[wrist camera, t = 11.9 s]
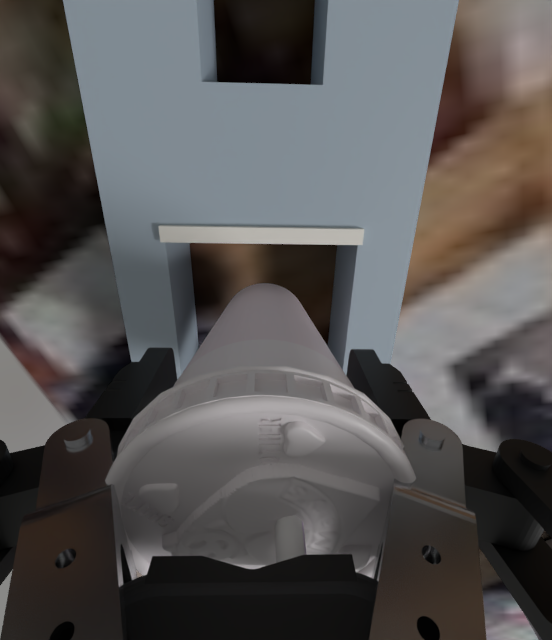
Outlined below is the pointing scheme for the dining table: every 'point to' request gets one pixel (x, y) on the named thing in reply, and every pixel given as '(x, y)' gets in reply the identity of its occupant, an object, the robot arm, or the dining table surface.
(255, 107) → the socket block
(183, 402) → the smoothie
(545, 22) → the dining table surface
